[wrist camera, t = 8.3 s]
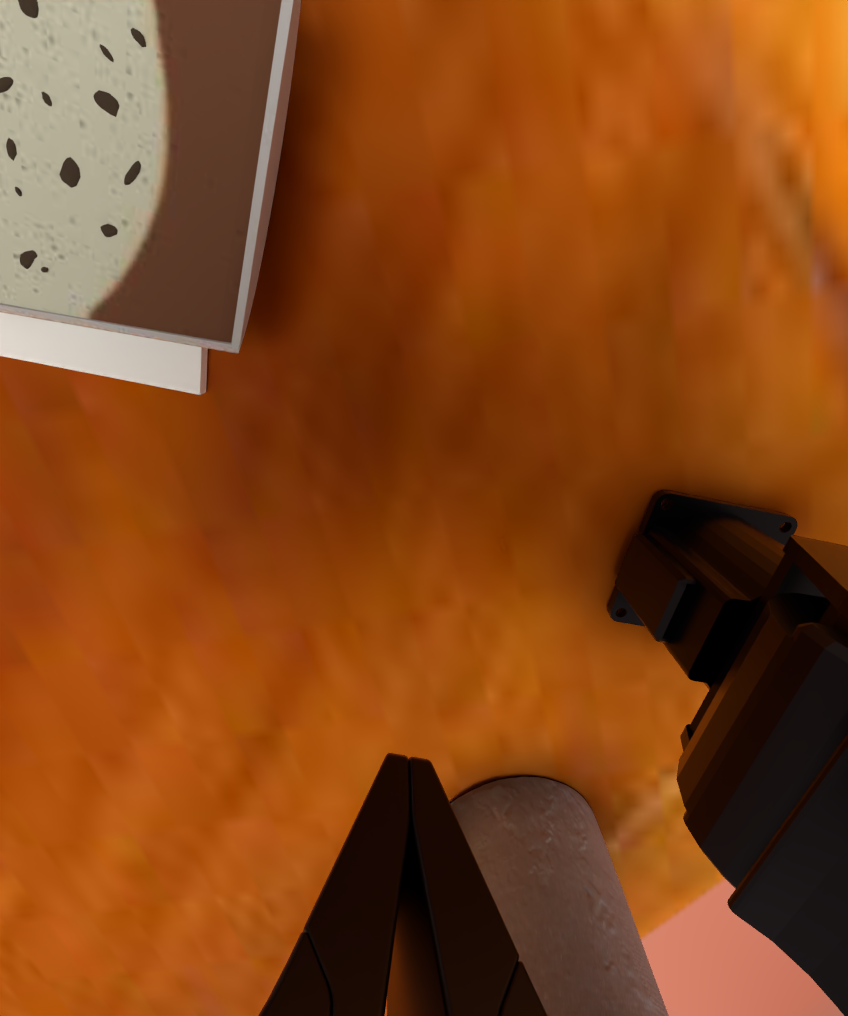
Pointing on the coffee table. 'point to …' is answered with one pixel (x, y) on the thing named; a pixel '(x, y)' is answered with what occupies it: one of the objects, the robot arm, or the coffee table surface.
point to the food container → (141, 161)
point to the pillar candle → (559, 897)
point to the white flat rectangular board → (105, 353)
